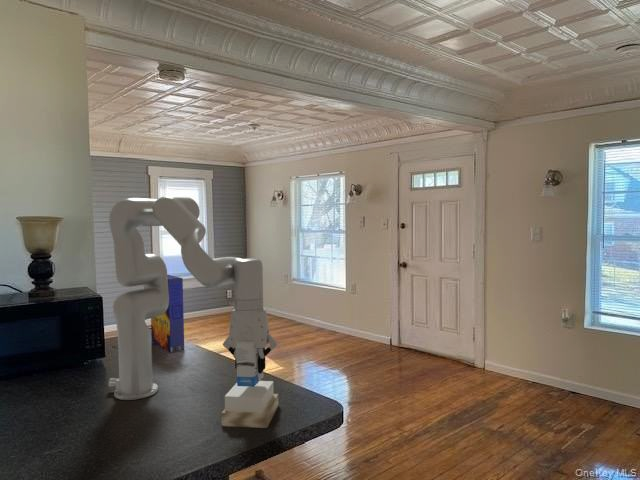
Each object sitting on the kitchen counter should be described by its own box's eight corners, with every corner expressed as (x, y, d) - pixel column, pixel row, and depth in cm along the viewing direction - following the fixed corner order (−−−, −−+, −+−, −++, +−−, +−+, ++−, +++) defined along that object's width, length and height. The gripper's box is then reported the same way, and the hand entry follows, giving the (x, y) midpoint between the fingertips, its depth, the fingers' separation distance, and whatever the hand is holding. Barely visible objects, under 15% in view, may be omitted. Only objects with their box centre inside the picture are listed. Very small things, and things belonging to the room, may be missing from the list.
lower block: (221, 428, 119) (221, 412, 119) (237, 406, 133) (237, 392, 132) (267, 430, 117) (266, 414, 117) (278, 407, 131) (278, 393, 131)
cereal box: (151, 342, 202) (149, 274, 200) (165, 339, 206) (163, 273, 204) (170, 353, 185) (168, 278, 183) (184, 350, 189) (182, 277, 187)
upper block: (225, 411, 119) (224, 396, 119) (239, 393, 131) (239, 379, 131) (262, 413, 118) (262, 397, 118) (273, 395, 130) (273, 381, 130)
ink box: (253, 387, 120) (253, 342, 119) (235, 386, 121) (235, 342, 120) (264, 376, 128) (263, 334, 127) (247, 375, 129) (246, 333, 128)
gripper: (213, 307, 121) (215, 375, 121) (277, 307, 119) (278, 377, 119) (222, 302, 128) (224, 366, 129) (283, 302, 126) (284, 367, 127)
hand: (250, 370), depth 124 cm, fingers closed on ink box, 5 cm apart
